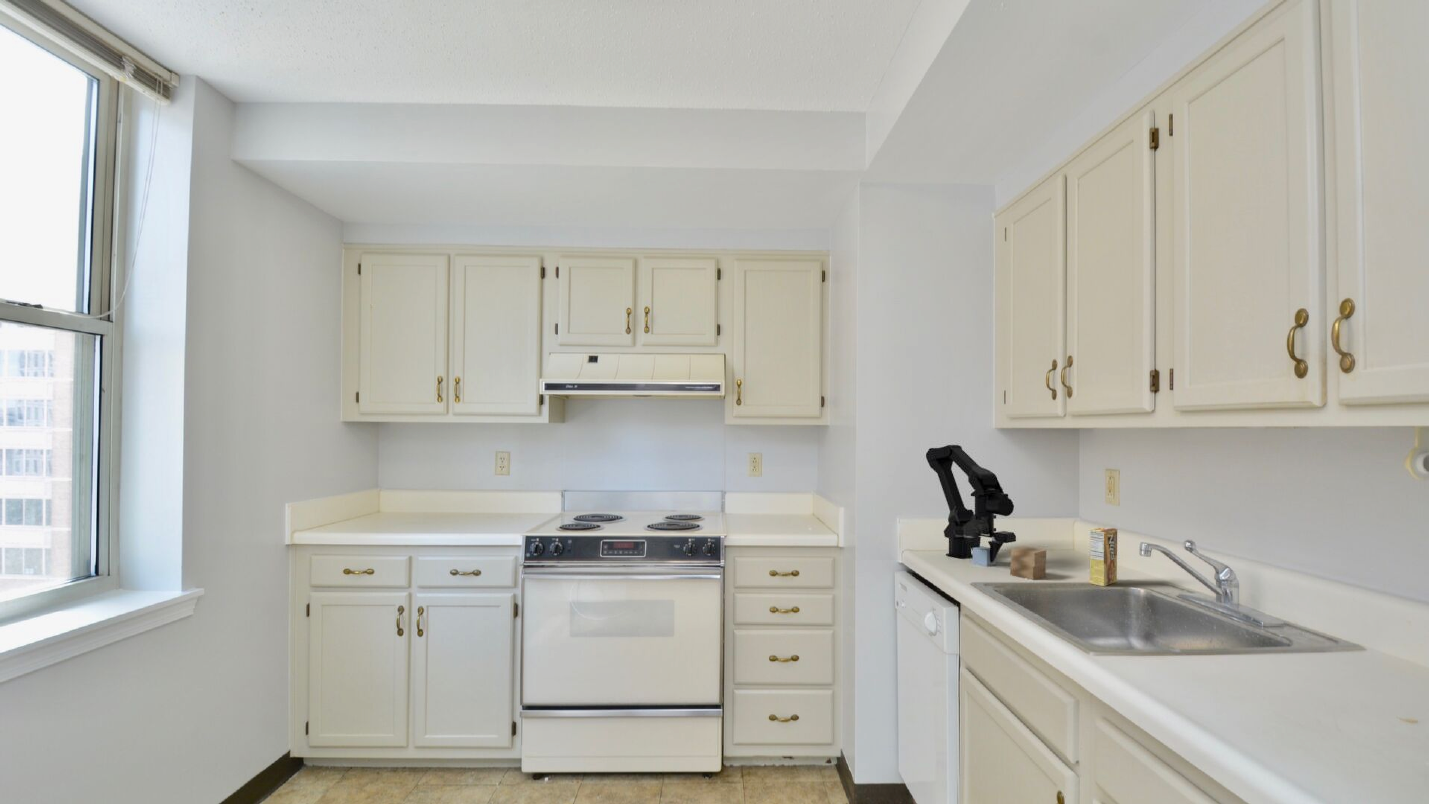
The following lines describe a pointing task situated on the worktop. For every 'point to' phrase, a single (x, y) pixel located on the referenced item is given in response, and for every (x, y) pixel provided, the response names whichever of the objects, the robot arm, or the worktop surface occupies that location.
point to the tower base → (1028, 571)
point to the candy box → (1103, 556)
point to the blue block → (982, 556)
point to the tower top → (1028, 556)
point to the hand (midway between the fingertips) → (984, 560)
